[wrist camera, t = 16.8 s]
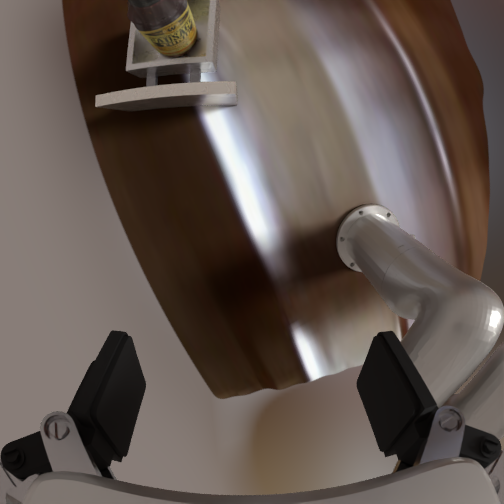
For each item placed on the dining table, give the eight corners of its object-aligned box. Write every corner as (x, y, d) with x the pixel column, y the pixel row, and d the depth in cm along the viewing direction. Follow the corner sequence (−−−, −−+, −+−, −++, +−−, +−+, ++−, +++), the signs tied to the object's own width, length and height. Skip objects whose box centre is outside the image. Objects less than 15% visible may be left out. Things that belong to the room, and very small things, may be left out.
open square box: (240, 17, 32) (240, -18, 21) (237, 105, 38) (235, 93, 27) (137, 26, 31) (107, 0, 20) (130, 111, 37) (95, 106, 26)
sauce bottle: (167, 66, 31) (106, 18, 13) (149, 37, 29) (85, -19, 11) (209, 43, 30) (181, -26, 12) (189, 14, 28) (152, -59, 10)
